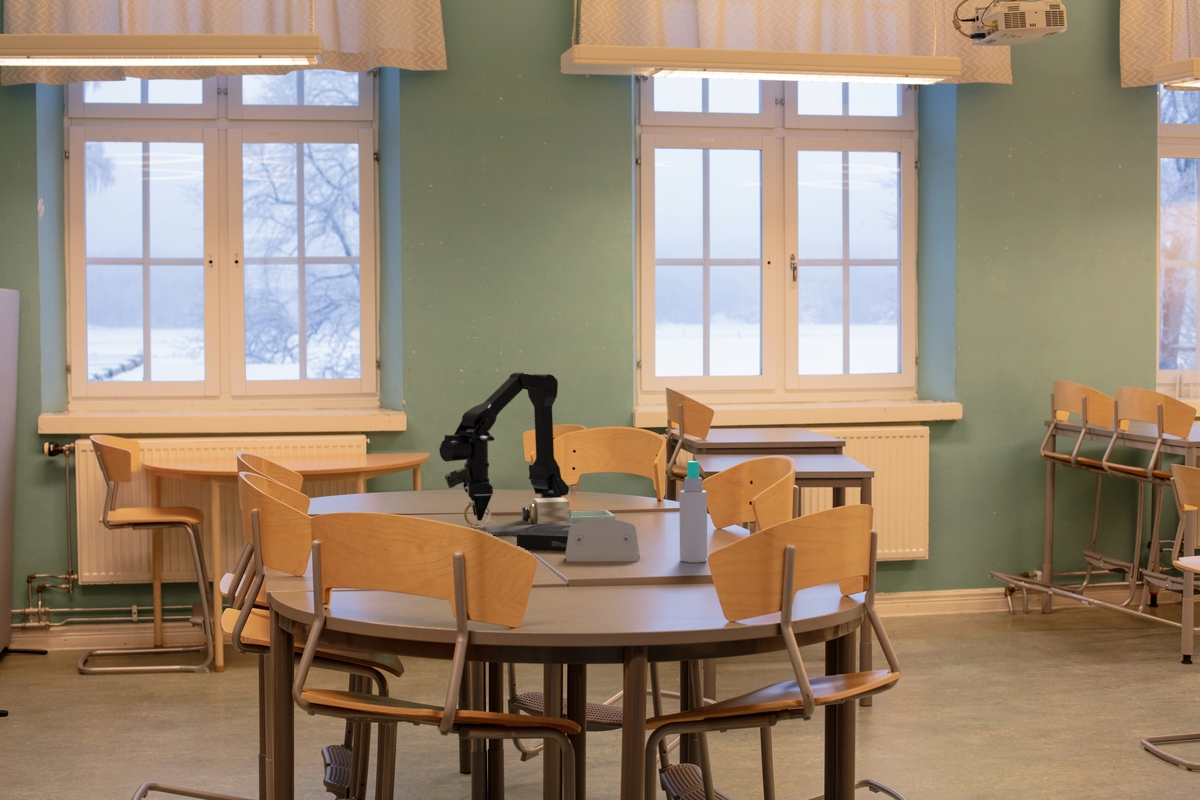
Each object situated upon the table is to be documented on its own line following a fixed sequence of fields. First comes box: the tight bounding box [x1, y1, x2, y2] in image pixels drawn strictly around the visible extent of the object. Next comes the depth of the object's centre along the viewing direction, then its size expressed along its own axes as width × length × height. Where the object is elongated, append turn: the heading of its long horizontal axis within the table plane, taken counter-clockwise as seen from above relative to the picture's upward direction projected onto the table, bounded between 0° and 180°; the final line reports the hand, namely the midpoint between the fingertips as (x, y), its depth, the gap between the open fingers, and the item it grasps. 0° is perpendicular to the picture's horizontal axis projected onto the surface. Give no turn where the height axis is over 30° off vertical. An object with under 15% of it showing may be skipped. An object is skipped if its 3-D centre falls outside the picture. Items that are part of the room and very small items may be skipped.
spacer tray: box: [569, 509, 616, 524], centre depth 317 cm, size 11×12×2 cm
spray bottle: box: [679, 460, 708, 564], centre depth 260 cm, size 6×6×22 cm
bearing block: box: [483, 497, 576, 537], centre depth 303 cm, size 26×9×8 cm, turn 101°
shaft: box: [521, 503, 572, 525], centre depth 304 cm, size 12×5×5 cm, turn 101°
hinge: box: [564, 519, 641, 562], centre depth 265 cm, size 17×5×10 cm, turn 88°
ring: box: [463, 499, 492, 529], centre depth 310 cm, size 7×3×8 cm, turn 92°
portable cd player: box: [516, 524, 571, 552], centre depth 283 cm, size 16×17×4 cm
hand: (477, 518), depth 310 cm, fingers open, 9 cm apart
